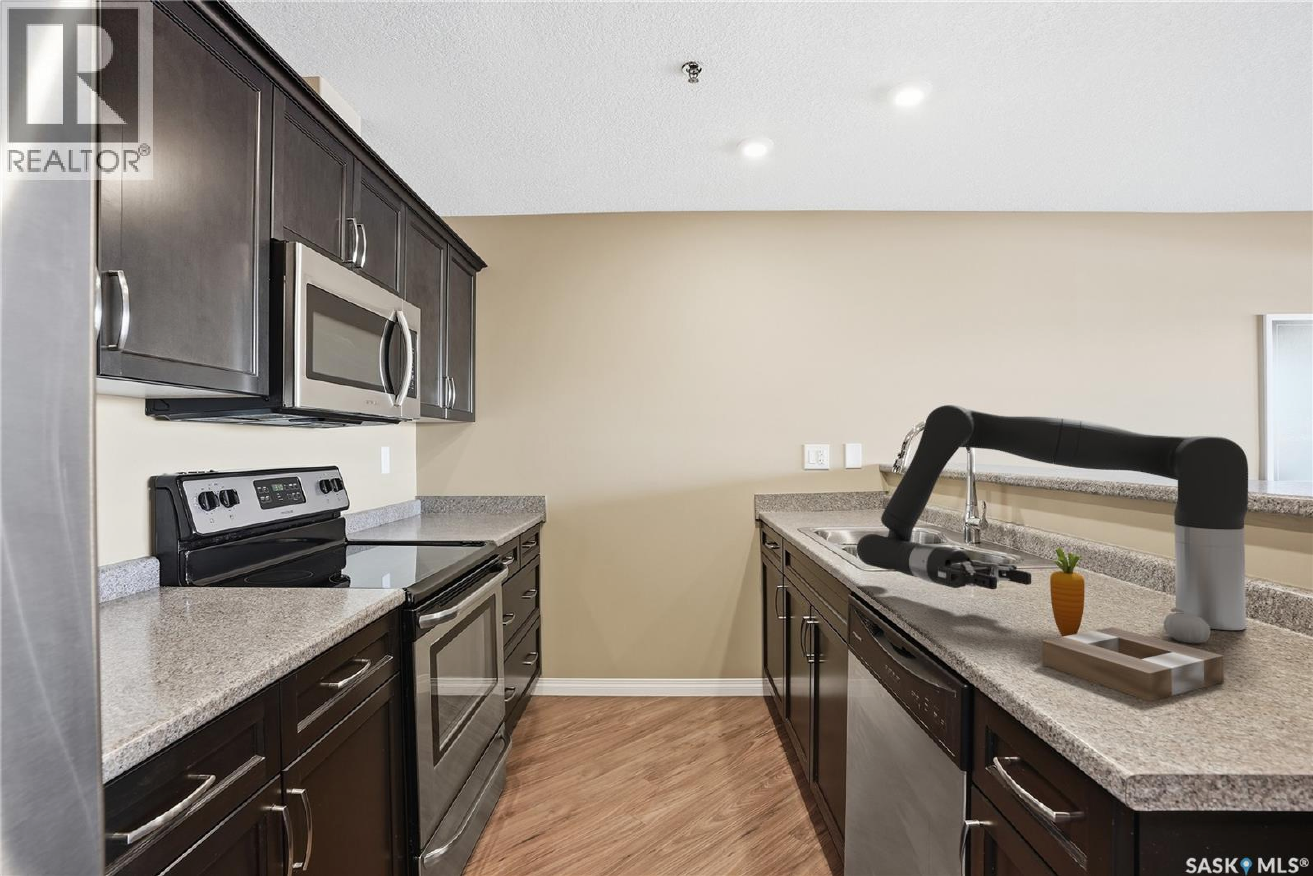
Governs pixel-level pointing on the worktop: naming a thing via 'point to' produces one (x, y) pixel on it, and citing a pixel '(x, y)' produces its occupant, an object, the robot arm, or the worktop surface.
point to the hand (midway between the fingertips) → (1013, 581)
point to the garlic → (1186, 627)
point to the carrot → (1067, 595)
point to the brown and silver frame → (1133, 662)
